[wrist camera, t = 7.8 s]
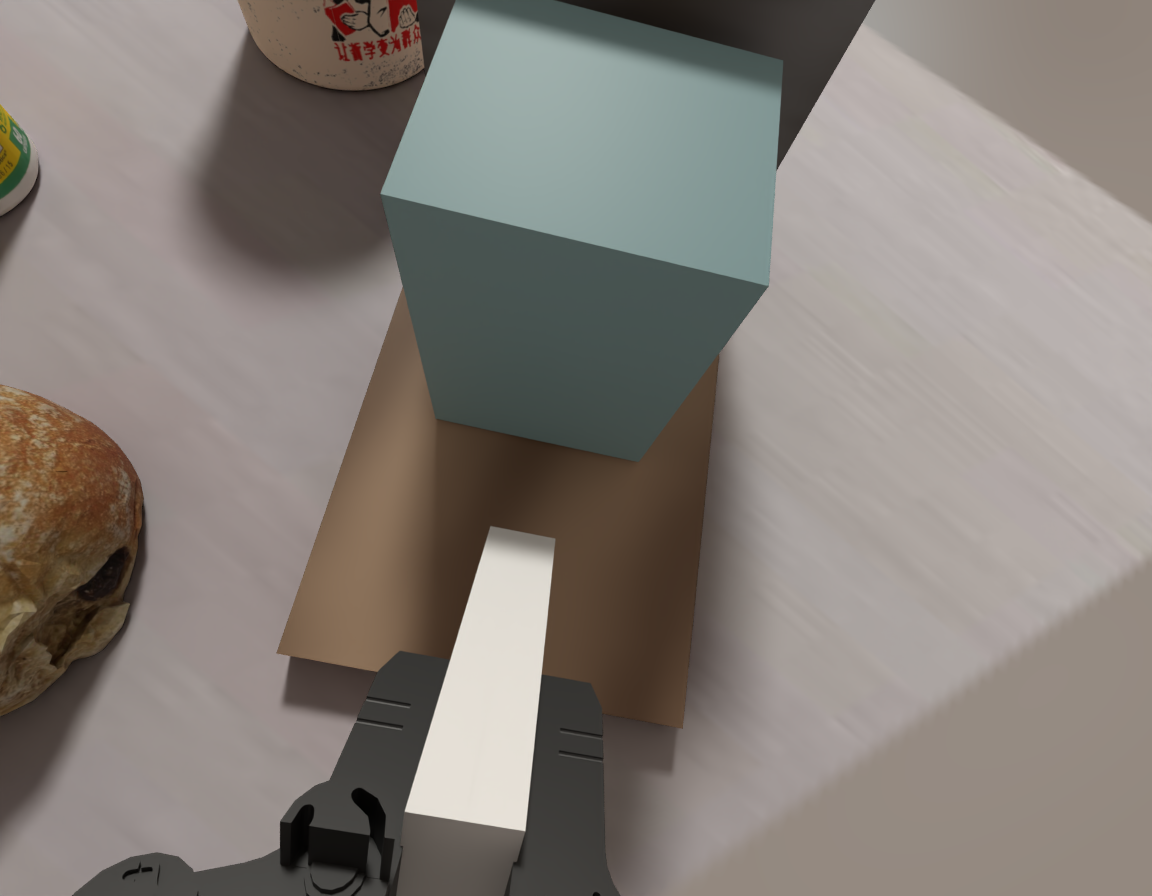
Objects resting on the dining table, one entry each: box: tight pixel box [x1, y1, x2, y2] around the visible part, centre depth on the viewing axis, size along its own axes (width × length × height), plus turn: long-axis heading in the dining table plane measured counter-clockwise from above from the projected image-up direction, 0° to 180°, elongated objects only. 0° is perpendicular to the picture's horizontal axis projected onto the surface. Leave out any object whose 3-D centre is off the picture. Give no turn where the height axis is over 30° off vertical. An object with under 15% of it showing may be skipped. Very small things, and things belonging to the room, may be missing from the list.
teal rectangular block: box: [380, 0, 783, 462], centre depth 16 cm, size 7×6×10 cm
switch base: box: [277, 0, 875, 729], centre depth 15 cm, size 12×22×14 cm, turn 170°
